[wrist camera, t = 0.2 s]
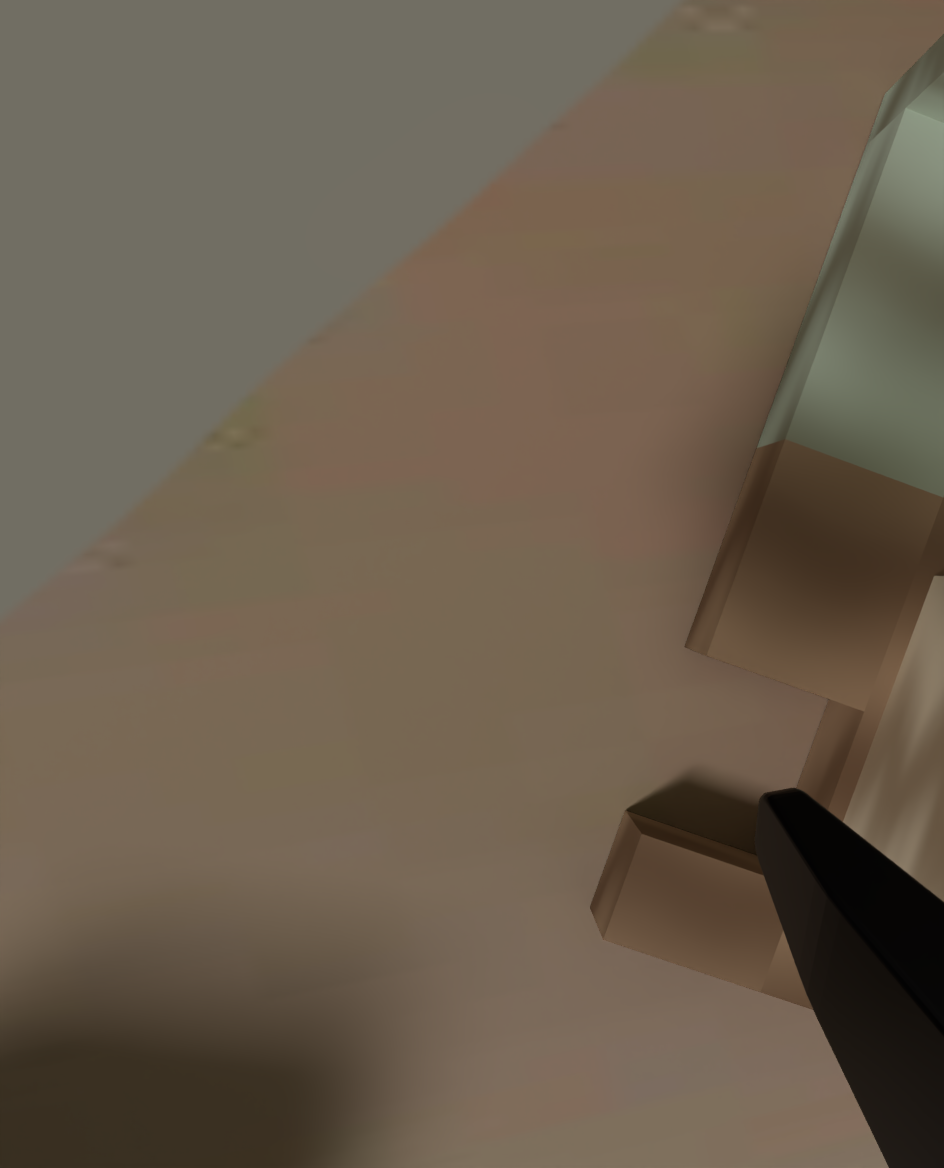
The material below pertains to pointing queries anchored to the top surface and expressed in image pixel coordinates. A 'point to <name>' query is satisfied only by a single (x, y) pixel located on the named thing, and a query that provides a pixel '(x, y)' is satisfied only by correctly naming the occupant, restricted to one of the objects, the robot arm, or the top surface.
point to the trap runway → (820, 543)
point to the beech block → (910, 759)
